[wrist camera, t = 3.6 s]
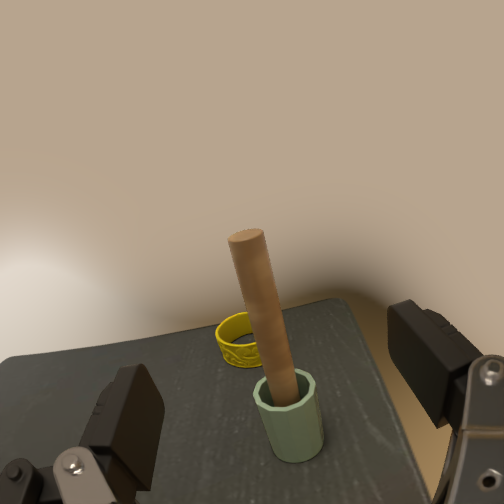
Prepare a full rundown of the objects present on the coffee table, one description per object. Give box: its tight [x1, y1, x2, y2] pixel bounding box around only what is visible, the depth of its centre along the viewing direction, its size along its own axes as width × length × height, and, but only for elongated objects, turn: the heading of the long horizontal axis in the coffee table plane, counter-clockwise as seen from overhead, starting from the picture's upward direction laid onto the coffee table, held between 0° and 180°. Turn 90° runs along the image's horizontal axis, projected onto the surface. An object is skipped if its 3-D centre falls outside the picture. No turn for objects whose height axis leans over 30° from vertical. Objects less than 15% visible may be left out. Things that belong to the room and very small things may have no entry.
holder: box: [253, 369, 324, 463], centre depth 22 cm, size 4×4×7 cm
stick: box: [228, 229, 301, 407], centre depth 21 cm, size 2×2×18 cm
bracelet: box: [215, 312, 262, 368], centre depth 38 cm, size 7×8×3 cm
